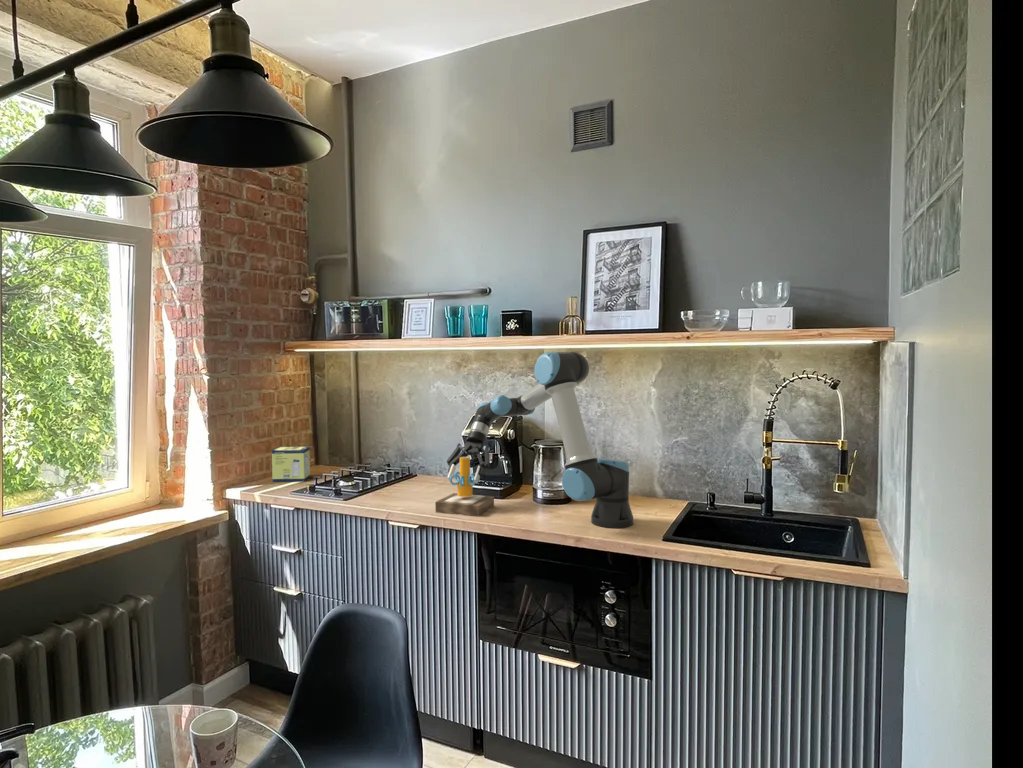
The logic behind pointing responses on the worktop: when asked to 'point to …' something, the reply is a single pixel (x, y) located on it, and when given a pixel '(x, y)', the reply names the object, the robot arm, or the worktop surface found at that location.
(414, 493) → the worktop surface
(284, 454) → the protein box
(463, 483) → the cylinder
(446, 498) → the pedestal
